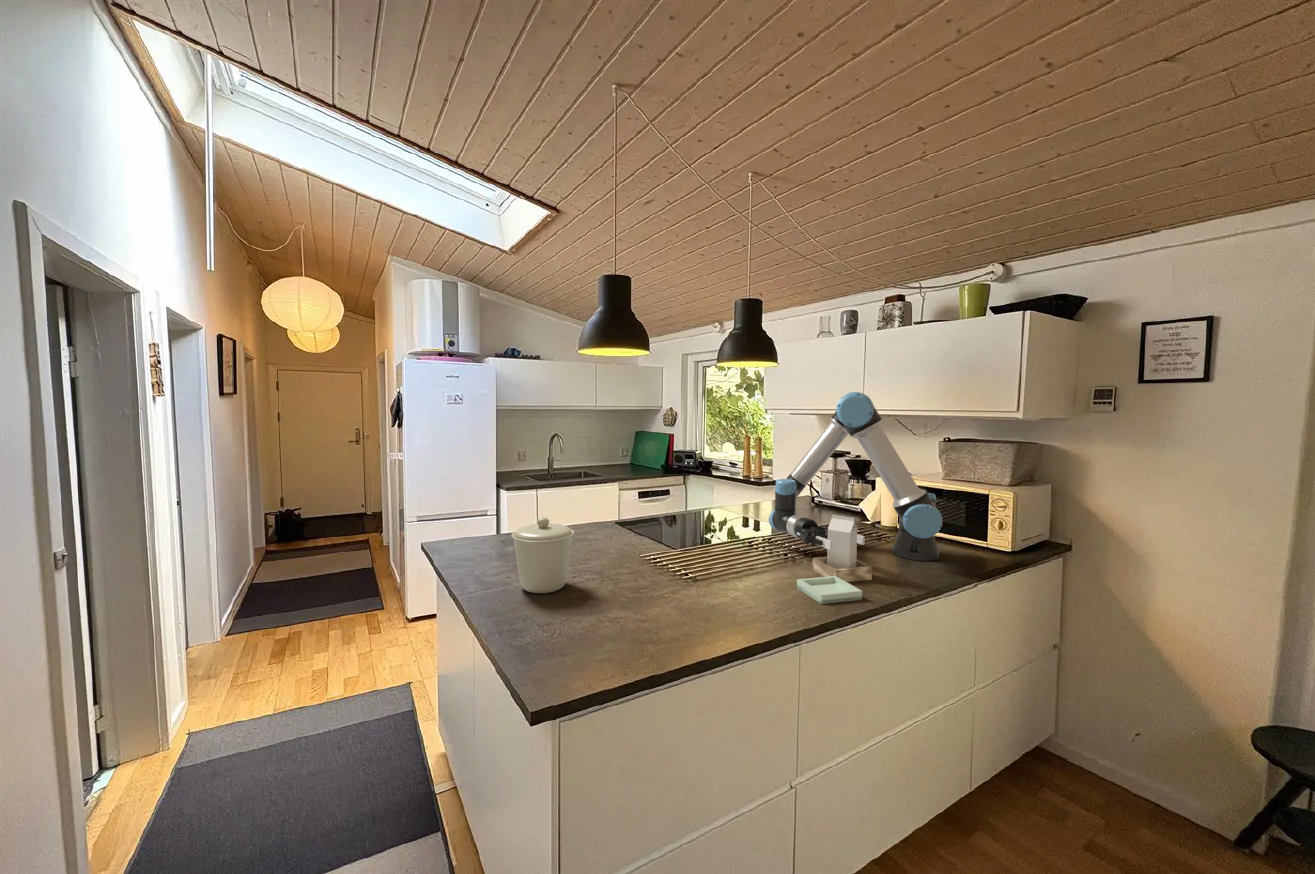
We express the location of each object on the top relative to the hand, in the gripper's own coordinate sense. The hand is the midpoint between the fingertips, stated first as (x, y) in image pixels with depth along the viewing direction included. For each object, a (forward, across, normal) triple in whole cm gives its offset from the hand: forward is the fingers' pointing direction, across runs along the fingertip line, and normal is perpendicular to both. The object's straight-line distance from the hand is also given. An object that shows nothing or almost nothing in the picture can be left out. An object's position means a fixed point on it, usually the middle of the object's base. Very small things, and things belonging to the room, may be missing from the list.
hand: (847, 543), depth 167 cm
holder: (-2, 0, -11) cm, 11 cm away
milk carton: (-2, 0, -11) cm, 11 cm away
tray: (+8, +16, -11) cm, 21 cm away
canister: (-30, +90, -11) cm, 95 cm away
